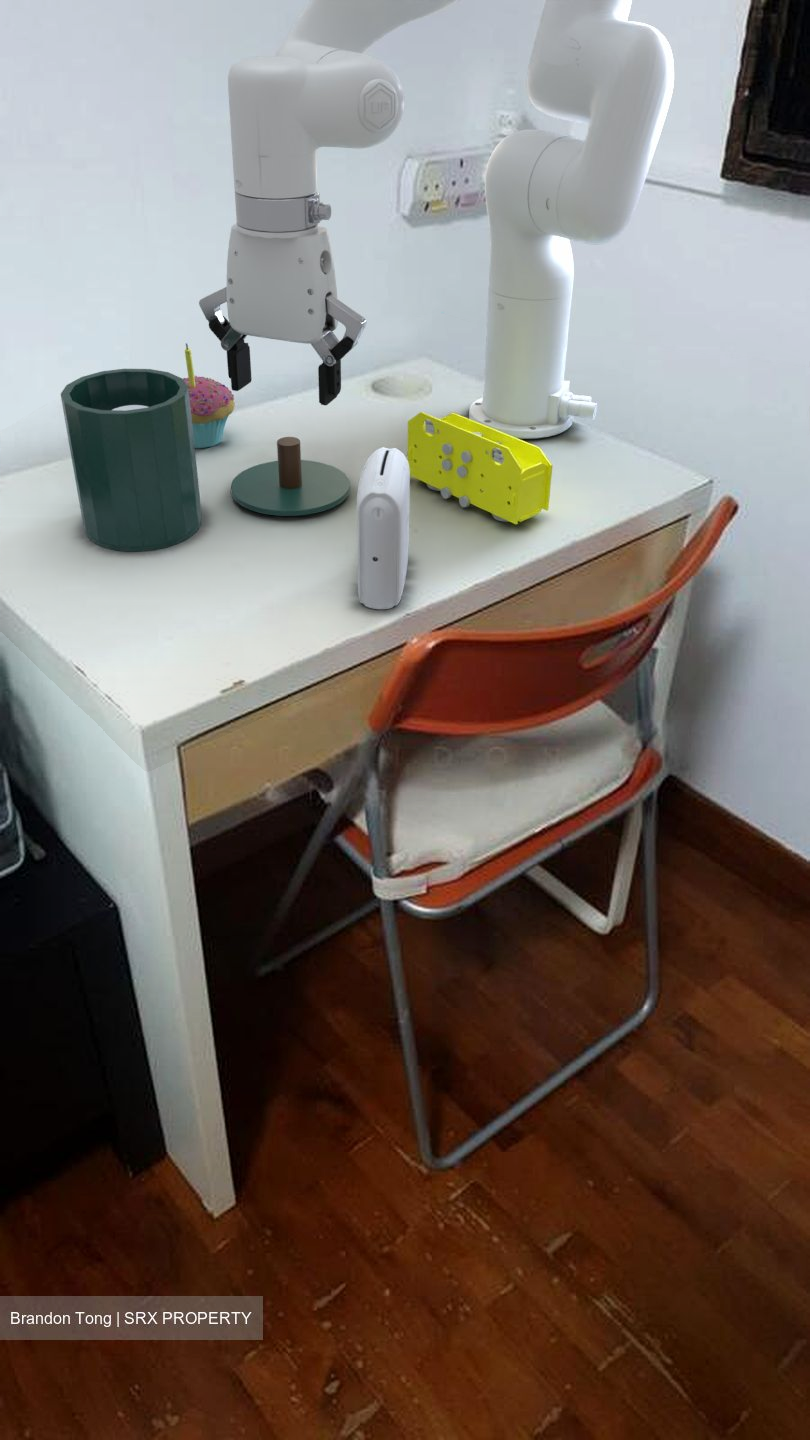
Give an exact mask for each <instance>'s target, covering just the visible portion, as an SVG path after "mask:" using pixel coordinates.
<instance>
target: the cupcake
mask: <svg viewBox="0 0 810 1440" xmlns="http://www.w3.org/2000/svg"><path fill="white" fill-rule="evenodd" d="M184 354H185V355H184V357H185V364H186V370H187V371H186V372H187V377H182V379H183V380H184V381H185V383H186V384H187V386H188V388H189V398H190V408H191V417H192V427H193V436H194V446H195V449H205V448H211V447H215V446H216V445H218V444H220V443H221V442H222V440H223V435H224V431H225V428H226V423H227V420H228V418H229V416H230V415H231V414H232V413H233V412H234V409H235V406H236V405H235V398H234V397H235V396H234V394H233V393H232V390H230V389H229V387H228V386H226V384H223V383H222V382H219V381H216V380H215V379H212V378H210V377H205V376H197V375H195V372H194V365H193V364H194V363H193V359H192V358H193V357H192V349H191V348H189V345H188V343H187V342H185V349H184Z"/></svg>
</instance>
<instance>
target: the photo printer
mask: <svg viewBox="0 0 810 1440" xmlns="http://www.w3.org/2000/svg"><path fill="white" fill-rule="evenodd" d="M359 478H360V479H359V482H358V488H357V493H356V526H357V527H356V528H357V529H356V531H357V533H356V534H357V535H356V537H357V539H356V540H357V592H358V601H359V603H360V604H363V605H364V607H366V608H369V609H373V610H389V609H393V608H394V606H398V605H399V603H400V601H401V600H402V596H403V592H404V588H405V583H406V578H407V571H408V563H409V548H410V499H411V498H410V496H411V495H410V492H411V491H410V489H411V486H410V485H411V476H410V468H409V463H408V461H407V457H406V456H405V454H404V453H403V452H402V451H401V450H399V449H398V448H396V447H393V448H387V447H384V446H382V447H379V448H377V449H376V450H375V451H373V452H372V453H371V455H370V456H368V458H367V460H366V462H365V463H364V466H363V468H362V472H361V475H360V477H359Z"/></svg>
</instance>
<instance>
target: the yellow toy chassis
mask: <svg viewBox="0 0 810 1440" xmlns="http://www.w3.org/2000/svg"><path fill="white" fill-rule="evenodd" d="M406 456H407V457H406V459H407V461H408V463H409V468H410V477H412V478H414V479H417V480H418V481H421V482H423V483H425V484H426V487H427V488H428V489H430V490H432V491H437V492H440V495H441V497H442V498H443V499H446V500H447V499H449V498H451V496H454V497H455V498H457V499H458V501H459V502H458V503H459V505H460V506H461V507H462V508H467V507H469V506H470V504H471V505H473V506H475V507H477V508H479V509H481V510H484V511H486V512H488V513H490V514H491V516H492V518H493V519H495V520H496V521H499V522H505V523H512V524H514V525H518V524H519V523H522V522H524V521H526V520H528V519H531V518H533V517H535V516H537V515H539V513H541V512H542V510H545V511H549V507H550V496H551V485H552V476H553V475H552V474H553V464H552V462H551V461H550V460H549V458H548V456H546V454H545V453H544V451H543V450H542V448H541V447H540V446H537V445H535V444H533V443H530V442H527V441H525V440H524V439H520V438H515V437H513V436H510V435H508V434H505V433H503V432H500V431H498V430H495V429H493V428H490V427H488V426H485V425H483V424H480V423H478V422H475V421H473V420H471V419H469V417H466V416H463V415H460V414H458V413H456V412H451V413H449V414H447V415H446V416H443V417H442V418H438V417H435V416H433V415H431V414H428V413H425V412H423V411H420V412H419V413H417V414H416V415H415V416H413V417H412V418H410V419H409V420H408V421H407V455H406ZM518 522H519V523H518Z"/></svg>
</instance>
